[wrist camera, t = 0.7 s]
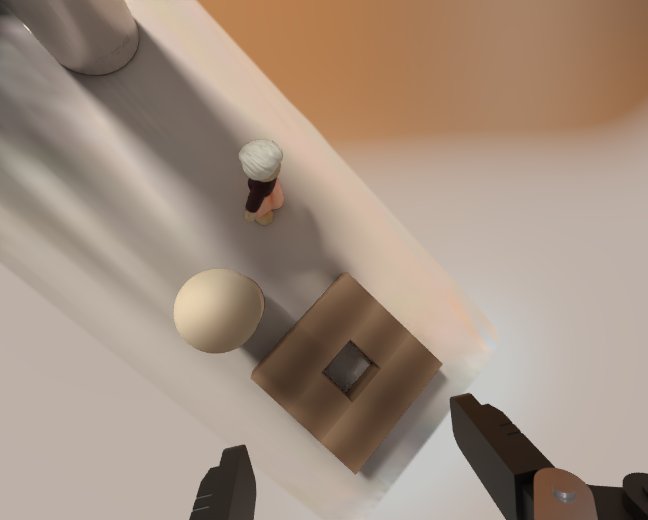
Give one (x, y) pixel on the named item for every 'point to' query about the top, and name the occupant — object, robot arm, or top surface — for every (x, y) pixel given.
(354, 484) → the top surface
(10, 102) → the top surface
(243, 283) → the beech peg
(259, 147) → the grandmother figurine
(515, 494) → the robot arm
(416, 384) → the walnut board
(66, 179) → the top surface
